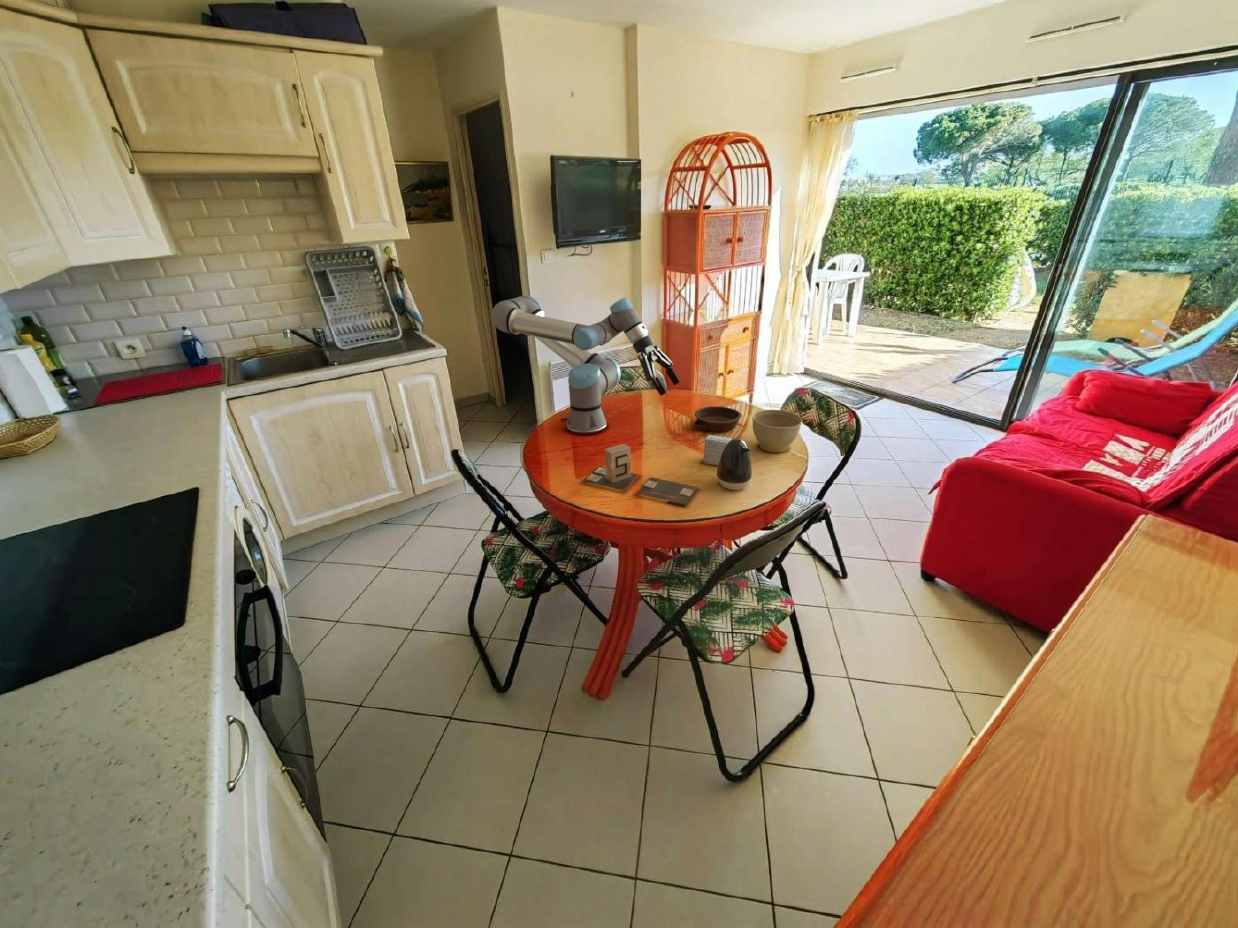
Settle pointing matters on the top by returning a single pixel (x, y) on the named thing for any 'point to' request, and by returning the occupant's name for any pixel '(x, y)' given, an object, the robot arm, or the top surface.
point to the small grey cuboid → (618, 462)
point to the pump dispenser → (735, 465)
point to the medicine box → (714, 448)
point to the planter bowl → (775, 429)
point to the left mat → (600, 479)
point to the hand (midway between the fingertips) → (670, 388)
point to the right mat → (668, 491)
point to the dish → (716, 418)
